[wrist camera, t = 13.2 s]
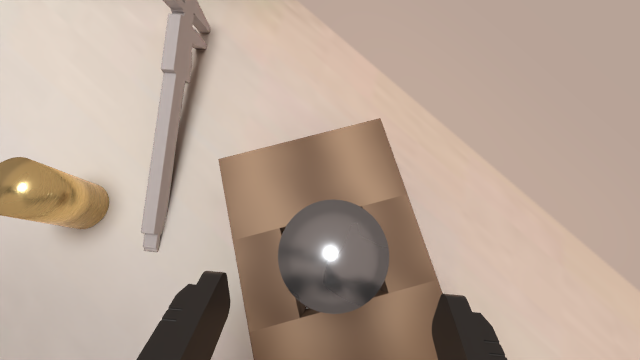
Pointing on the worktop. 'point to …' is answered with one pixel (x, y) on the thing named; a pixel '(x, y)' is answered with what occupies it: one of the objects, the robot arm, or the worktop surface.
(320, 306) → the long pin
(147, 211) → the caliper
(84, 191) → the short pin
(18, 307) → the worktop surface
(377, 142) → the hole block
